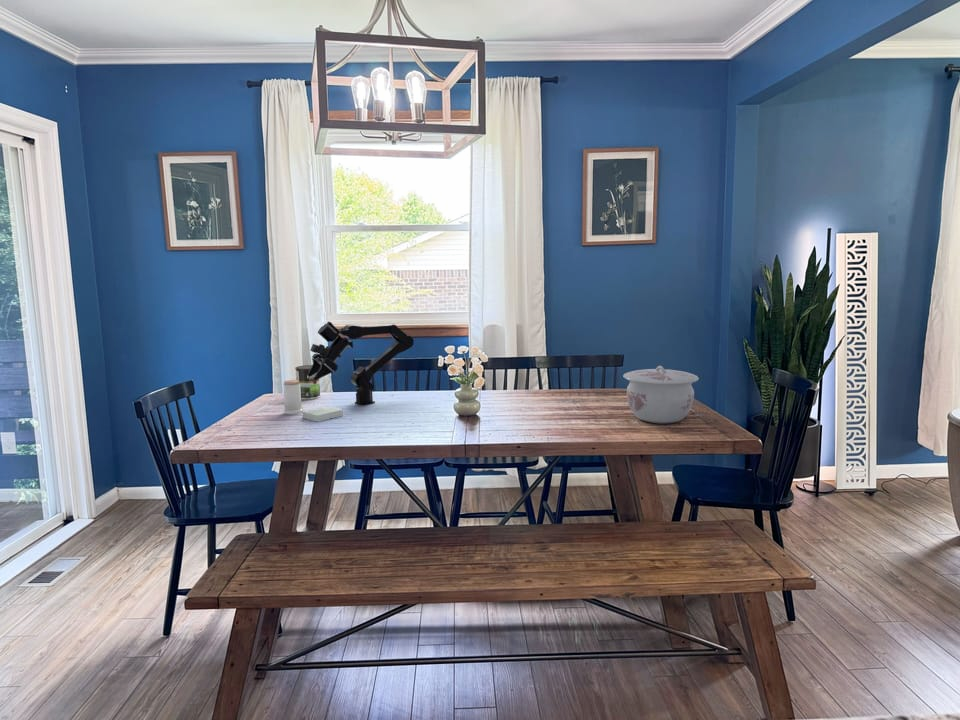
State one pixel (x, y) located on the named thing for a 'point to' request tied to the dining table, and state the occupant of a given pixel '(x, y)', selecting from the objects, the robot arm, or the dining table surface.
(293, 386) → the cream jar
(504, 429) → the dining table surface
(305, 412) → the sage block
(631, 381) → the chamber pot
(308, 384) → the coffee can
